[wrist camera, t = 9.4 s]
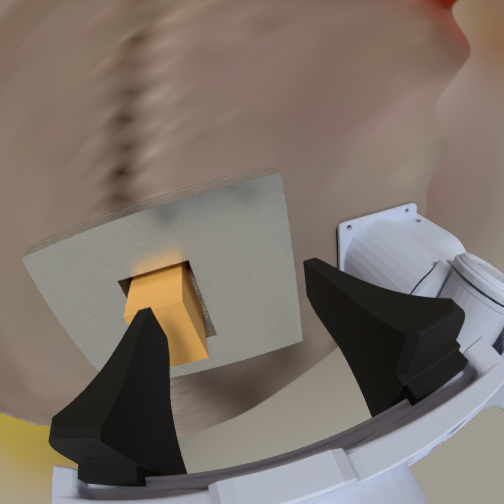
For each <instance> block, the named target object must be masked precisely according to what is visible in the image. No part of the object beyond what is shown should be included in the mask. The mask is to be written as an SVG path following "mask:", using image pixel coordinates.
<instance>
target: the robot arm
mask: <svg viewBox="0 0 504 504" xmlns="http://www.w3.org/2000/svg"><path fill="white" fill-rule="evenodd" d="M416 209H417V207H416V204H414V203H410V204H406V205H403V206H399V207H396V208H392V209H388V210H385V211H381V212H378V213H374V214H371V215H367V216H364V217H360V218H356V219H353V220H349V221H346V222H342V223H340V224H339V226H338V260H339V269H337V268H335V267H333V266H331V265H329V264H328V263H326V262H324V261H322V260H320V259H318V258H312V259H309V260H306V261H303V264H304V272H305V282H306V292H307V297H308V299H309V301H310V303H311V305H312V307H313V309H314V311H315V313H316V314H317V316H318V317H319V319H320V320H321V321H322V323H323V324H324V326H325V327H326V329H327V330H328V332H329V333H330V334H331V336H332V337H333V339H334V340H335V342H336V343H337V345H338V346H339V348H340V349H341V351H342V353H343V355H344V356H345V358H346V360H347V362H348V364H349V366H350V368H351V370H352V372H353V374H354V376H355V378H356V380H357V383H358V385H359V387H360V389H361V392H362V394H363V396H364V398H365V401H366V403H367V406H368V408H369V411H370V413H371V416H372V418H371V419H369V420H367V421H365V422H363V423H360V424H358V425H356V426H354V427H352V428H350V429H348V430H345V431H343V432H341V433H339V434H336V435H334V436H331V437H329V438H327V439H324V440H321V441H319V442H316V443H314V444H311V445H308V446H306V447H302V448H300V449H297V450H294V451H291V452H287V453H284V454H281V455H278V456H275V457H271V458H267V459H264V460H260V461H256V462H252V463H247V464H243V465H239V466H234V467H229V468H224V469H219V470H212V471H206V472H200V473H191V474H187V471H186V468H185V465H184V462H183V458H182V456H181V452H180V448H179V444H178V440H177V436H176V431H175V426H174V421H173V415H172V409H171V400H170V354H169V346H168V338H167V336H166V334H165V332H164V331H163V329H162V327H161V325H160V324H159V322H158V320H157V318H156V317H155V315H154V313H153V311H152V309H151V307H148V308H144V309H141V310H138V312H137V313H136V315H135V316H134V318H133V320H132V322H131V323H130V325H129V327H128V329H127V330H126V332H125V334H124V335H123V337H122V339H121V341H120V342H119V344H118V346H117V347H116V349H115V350H114V352H113V353H112V355H111V357H110V358H109V360H108V361H107V363H106V364H105V365H104V367H103V368H102V369H101V371H100V372H99V373H98V375H97V376H96V377H95V378H94V379H93V380H92V382H91V383H90V384H89V385H88V386H87V387H86V388H85V390H84V391H83V392H82V393H81V394H80V395H79V396H78V397H77V398H75V399H74V400H73V401H72V402H71V403H70V404H69V405H68V406H67V407H65V408H64V409H63V410H61V411H60V412H59V413H58V414H56V415H55V416H54V417H53V418H52V423H51V429H50V436H49V443H50V445H51V447H52V448H53V449H54V450H56V451H57V452H58V453H60V454H61V455H63V456H65V457H67V458H68V459H70V460H72V461H74V462H75V463H77V464H78V470H77V469H73V468H68V467H61V466H54V468H53V483H52V504H429V503H428V501H427V499H426V497H425V495H424V494H423V492H422V490H421V488H420V486H419V485H418V483H417V481H416V479H415V477H414V476H413V474H412V472H411V470H410V469H409V466H410V465H412V464H413V463H415V462H416V461H418V460H419V459H421V458H422V457H424V456H425V455H427V454H428V453H429V452H431V451H432V450H434V449H435V448H436V447H438V446H439V445H440V444H442V443H443V442H444V441H445V440H447V439H448V438H449V437H450V436H451V435H453V434H454V433H455V432H457V431H458V430H459V429H460V428H461V427H462V426H464V425H465V424H466V423H467V422H468V421H469V420H470V419H471V418H472V417H474V416H475V415H476V414H477V413H478V412H479V411H480V410H481V409H483V408H486V407H490V406H494V405H497V406H498V407H500V408H501V409H502V410H504V274H503V273H501V272H500V271H499V270H497V269H496V268H494V267H493V266H492V265H490V264H488V263H487V262H485V261H484V260H482V259H480V258H478V257H476V256H474V255H472V254H470V253H466V251H465V249H464V247H463V246H462V244H461V243H460V241H459V240H458V239H457V238H456V237H455V236H453V235H452V234H450V233H449V232H447V231H446V230H444V229H442V228H441V227H439V226H437V225H436V224H434V223H432V222H431V221H429V220H427V219H425V218H424V217H422V216H420V215H418V214H417V213H416ZM405 210H406V211H405ZM348 225H349V228H348V229H347V226H348Z"/></svg>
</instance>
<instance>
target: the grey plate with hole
mask: <svg viewBox="0 0 504 504" xmlns="http://www.w3.org/2000/svg"><path fill="white" fill-rule="evenodd" d="M22 260H23V262H24V264H25V266H26V268H27V270H28V272H29V273H30V275H31V277H32V279H33V281H34V282H35V284H36V286H37V288H38V289H39V291H40V293H41V294H42V296H43V297H44V299H45V301H46V302H47V304H48V305H49V307H50V308H51V310H52V312H53V313H54V315H55V316H56V318H57V319H58V320H59V322H60V323H61V325H62V326H63V328H64V329H65V330H66V332H67V333H68V334H69V336H70V337H71V338H72V340H73V341H74V342H75V344H76V345H77V346H78V348H79V349H80V350H81V351H82V353H83V354H84V355H85V356H86V358H87V359H88V360H89V361H90V362H91V364H92V365H93V366H94V367H95V368H96V369H97V371H98V372H100V371H101V369H102V368H103V367H104V365H105V364H106V363H107V361H108V360H109V358H110V357H111V355H112V353H113V352H114V350H115V349H116V347H117V346H118V344H119V342H120V341H121V339H122V337H123V335H124V334H125V332H126V330H127V329H128V327H129V325H128V323H127V322H126V320H125V318H124V317H123V316H124V312H125V307H126V302H127V298H128V294H129V290H130V286H131V279H130V277H133V276H136V275H139V274H143V273H146V272H149V271H153V270H156V269H160V268H163V267H166V266H170V265H173V264H177V263H180V262H183V261H187V260H189V263H190V265H191V268H192V271H193V274H194V276H195V279H196V282H197V284H198V287H199V290H200V292H201V295H202V298H203V300H204V303H205V305H206V308H207V310H208V313H209V315H210V317H207V318H203V321H204V328H205V335H206V342H207V348H208V354H209V358H206V359H202V360H198V361H194V362H190V363H186V364H181V365H177V366H173V367H170V378H173V377H178V376H182V375H187V374H191V373H195V372H200V371H204V370H208V369H212V368H216V367H219V366H223V365H227V364H231V363H234V362H238V361H241V360H245V359H248V358H252V357H255V356H258V355H261V354H265V353H268V352H271V351H274V350H277V349H280V348H283V347H286V346H289V345H292V344H295V343H298V342H301V341H303V340H302V330H301V320H300V310H299V301H298V292H297V283H296V275H295V267H294V259H293V251H292V244H291V236H290V229H289V222H288V215H287V208H286V202H285V195H284V189H283V182H282V176H281V172H279V171H277V170H276V169H274V168H272V167H270V166H267V167H263V168H259V169H254V170H250V171H246V172H242V173H238V174H234V175H230V176H226V177H222V178H218V179H215V180H211V181H207V182H204V183H200V184H196V185H193V186H190V187H186V188H183V189H179V190H176V191H173V192H169V193H166V194H163V195H160V196H157V197H154V198H151V199H148V200H144V201H141V202H139V203H136V204H133V205H130V206H127V207H124V208H121V209H118V210H116V211H113V212H110V213H107V214H105V215H102V216H99V217H97V218H94V219H92V220H89V221H86V222H84V223H81V224H79V225H76V226H74V227H71V228H69V229H67V230H64V231H62V232H60V233H57V234H55V235H53V236H50V237H48V238H46V239H43V240H41V241H39V242H37V243H35V244H34V245H33V246H32V247H31V248H30V249H29V250H28V251H27V252H26V253H25V255H24V256H23V257H22Z"/></svg>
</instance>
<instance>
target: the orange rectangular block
mask: <svg viewBox="0 0 504 504" xmlns="http://www.w3.org/2000/svg"><path fill="white" fill-rule="evenodd" d="M148 307H151V309H152V311H153V313H154V315H155V317H156V318H157V320H158V322H159V324H160V325H161V327H162V329H163V331H164V332H165V334H166V336H167V338H168V346H169V354H170V367H173V366H177V365H181V364H186V363H190V362H194V361H198V360H202V359H206V358H209V354H208V348H207V342H206V335H205V328H204V321H203V314H202V307H201V304H200V302H199V299H198V297H197V294H196V291H195V289H194V286H193V284H192V281H191V279H190V276H189V273H188V271H187V268H186V265H185V262H184V261H183V262H180V263H177V264H173V265H170V266H166V267H163V268H160V269H156V270H153V271H149V272H146V273H143V274H139V275H136V276H133V278H132V281H131V286H130V290H129V294H128V298H127V302H126V307H125V312H124V316H123V317H124V318H125V320H126V322H127V323H128V325H130V323H131V322H132V320H133V318H134V316H135V315H136V313H137V312H138V310H141V309H144V308H148Z"/></svg>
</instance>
